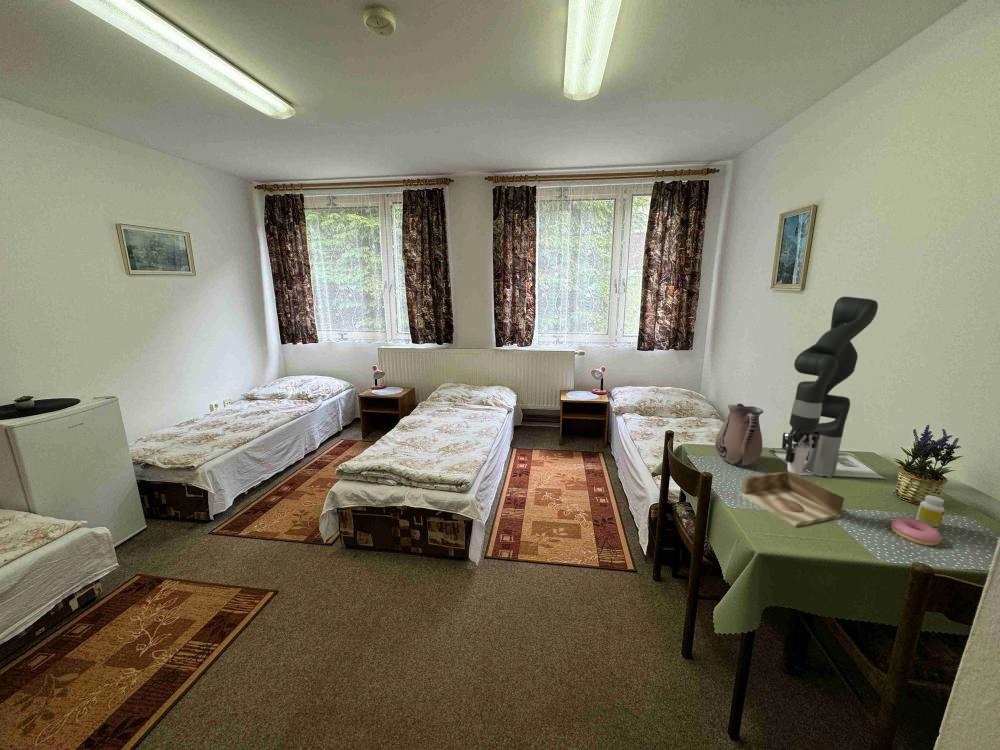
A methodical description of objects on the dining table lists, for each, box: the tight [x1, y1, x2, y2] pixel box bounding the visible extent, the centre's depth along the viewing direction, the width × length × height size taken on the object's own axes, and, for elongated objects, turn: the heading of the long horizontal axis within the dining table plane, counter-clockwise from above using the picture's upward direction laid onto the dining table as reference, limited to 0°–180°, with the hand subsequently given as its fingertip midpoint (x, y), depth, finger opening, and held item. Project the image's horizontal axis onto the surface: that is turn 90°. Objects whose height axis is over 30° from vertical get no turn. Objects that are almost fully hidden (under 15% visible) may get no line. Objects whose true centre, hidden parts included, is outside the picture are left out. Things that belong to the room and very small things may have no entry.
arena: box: [741, 470, 845, 528], centre depth 137 cm, size 20×20×7 cm
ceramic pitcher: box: [714, 403, 764, 467], centre depth 168 cm, size 18×21×25 cm
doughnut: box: [890, 517, 943, 546], centre depth 122 cm, size 11×11×4 cm
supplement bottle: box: [915, 495, 945, 531], centre depth 127 cm, size 5×5×10 cm
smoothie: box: [786, 441, 811, 475], centre depth 132 cm, size 6×6×14 cm
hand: (796, 460), depth 132 cm, fingers closed on smoothie, 6 cm apart
